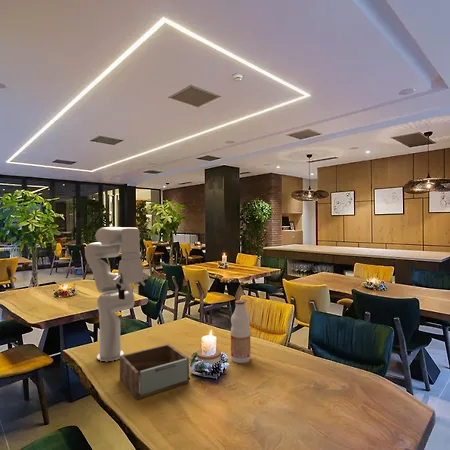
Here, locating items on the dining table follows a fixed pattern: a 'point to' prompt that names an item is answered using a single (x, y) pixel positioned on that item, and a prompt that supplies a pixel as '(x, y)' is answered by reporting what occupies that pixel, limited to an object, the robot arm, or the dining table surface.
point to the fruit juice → (240, 334)
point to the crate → (147, 366)
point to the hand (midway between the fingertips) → (131, 297)
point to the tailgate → (163, 376)
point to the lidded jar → (209, 357)
